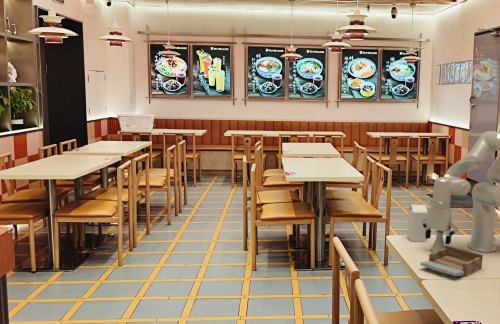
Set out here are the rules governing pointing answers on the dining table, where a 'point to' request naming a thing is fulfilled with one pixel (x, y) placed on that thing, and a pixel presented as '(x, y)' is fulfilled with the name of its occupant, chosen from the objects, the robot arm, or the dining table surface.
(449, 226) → the robot arm
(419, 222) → the milk carton
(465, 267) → the wooden tray
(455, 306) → the dining table surface
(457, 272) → the grey flat panel
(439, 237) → the flask
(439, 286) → the dining table surface
